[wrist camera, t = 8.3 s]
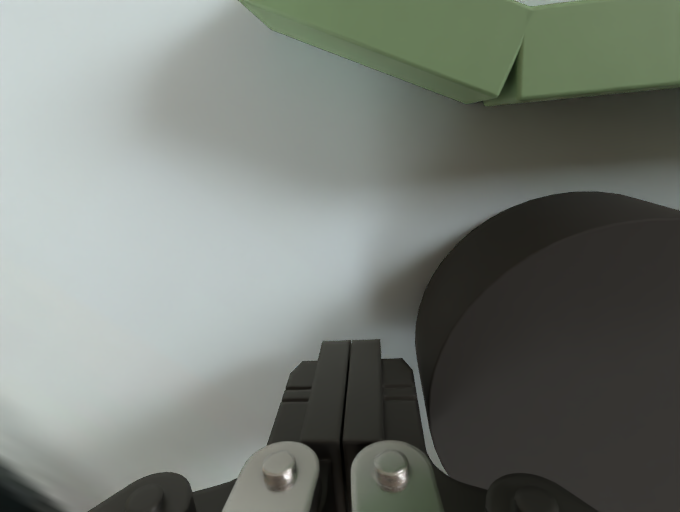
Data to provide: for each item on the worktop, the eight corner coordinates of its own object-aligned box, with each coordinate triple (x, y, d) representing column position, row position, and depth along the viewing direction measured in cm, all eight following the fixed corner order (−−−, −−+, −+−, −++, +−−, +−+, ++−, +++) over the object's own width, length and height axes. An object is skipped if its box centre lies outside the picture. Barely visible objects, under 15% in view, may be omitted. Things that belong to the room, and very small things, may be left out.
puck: (409, 203, 10) (422, 233, 8) (752, 178, 10) (909, 201, 7) (418, 454, 13) (431, 547, 10) (693, 451, 12) (792, 552, 9)
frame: (260, -38, 9) (220, -96, 7) (1139, -164, 7) (1502, -301, 5) (340, 573, 15) (333, 659, 12) (845, 582, 13) (949, 684, 11)
